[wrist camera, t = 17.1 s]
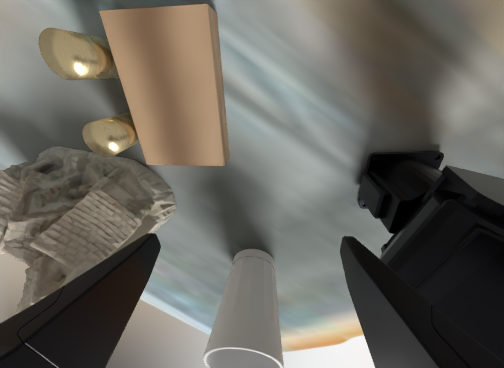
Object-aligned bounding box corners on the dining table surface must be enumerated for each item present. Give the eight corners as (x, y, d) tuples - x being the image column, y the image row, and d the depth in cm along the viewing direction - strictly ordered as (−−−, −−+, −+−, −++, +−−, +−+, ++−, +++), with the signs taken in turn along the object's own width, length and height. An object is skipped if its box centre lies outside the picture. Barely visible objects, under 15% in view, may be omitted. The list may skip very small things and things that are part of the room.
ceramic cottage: (192, 213, 26) (93, 349, 13) (117, 247, 32) (-3, 363, 19) (104, 102, 21) (-208, 140, 8) (34, 167, 27) (-210, 249, 14)
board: (218, 14, 16) (207, 3, 13) (230, 154, 22) (224, 165, 19) (126, 20, 17) (98, 10, 14) (161, 153, 23) (146, 164, 20)
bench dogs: (121, 36, 17) (69, 25, 13) (154, 139, 21) (123, 156, 17) (90, 40, 17) (29, 30, 13) (128, 140, 22) (92, 157, 17)
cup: (219, 249, 29) (189, 348, 19) (272, 240, 27) (271, 346, 17) (238, 282, 32) (220, 381, 22) (286, 277, 31) (291, 383, 20)
